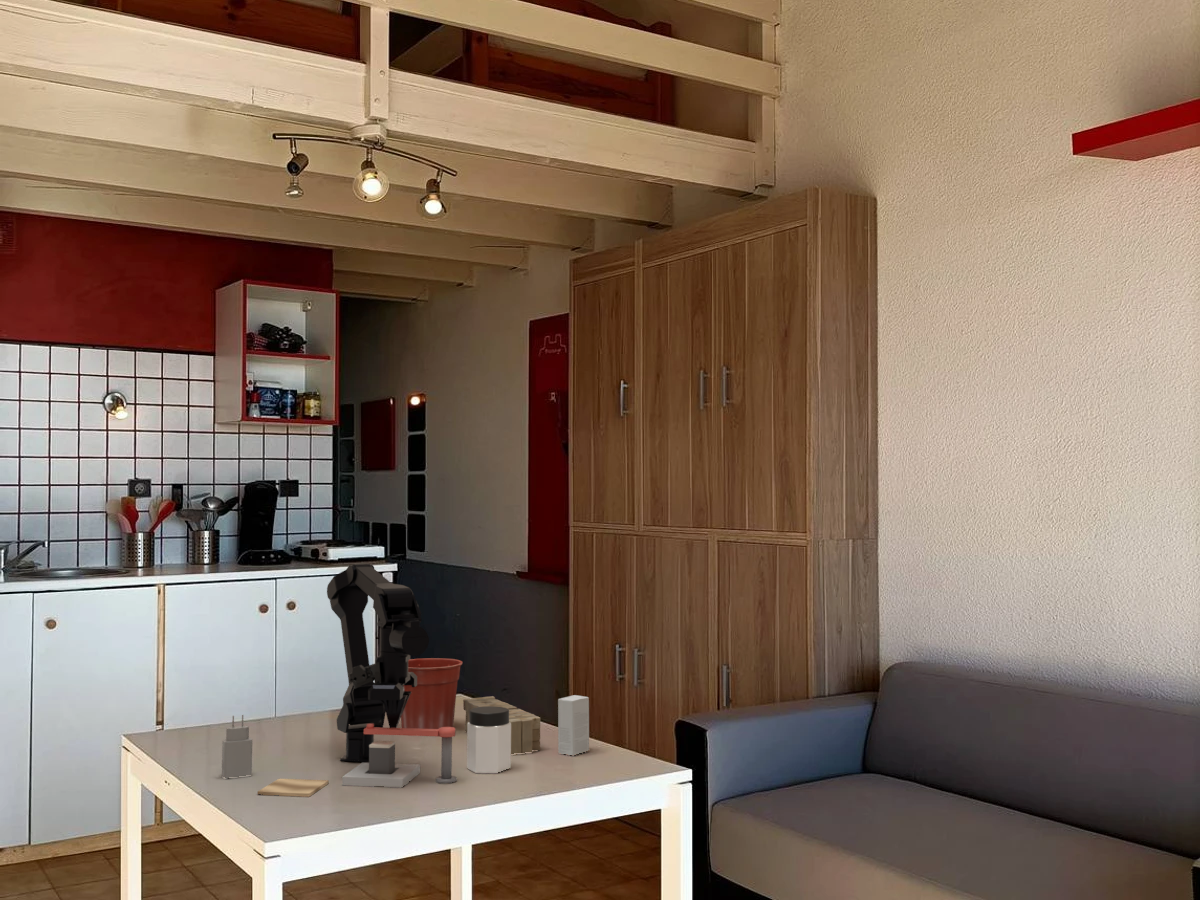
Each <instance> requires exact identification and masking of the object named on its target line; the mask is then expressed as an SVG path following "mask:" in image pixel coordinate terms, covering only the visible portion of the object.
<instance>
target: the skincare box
mask: <svg viewBox="0 0 1200 900" xmlns="http://www.w3.org/2000/svg"><path fill="white" fill-rule="evenodd" d="M589 699H590V697H588V696H583V695H577V694H574V695H569V696H565V697H561V698H558V699H557V705H558V707H557V709H558V710H557V713H558V714H557V715H558V716H557V717H558V718H557V719H558V720H557V721H558V722H557V723H558V725H557V726H558V727H557V728H558V730H557V731H558V732H557V733H558V734H557V738H558V739H557V741H558V742H557V745H558V749H557V751H558V752H557V753H558V754H559V753H561V754H568V755H575V754H579V753H582V752H585V751H588V750H589V751H590V700H589ZM585 753H586V752H585ZM582 754H583V753H582ZM579 755H580V754H579Z"/></svg>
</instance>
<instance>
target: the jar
mask: <svg viewBox="0 0 1200 900" xmlns="http://www.w3.org/2000/svg"><path fill="white" fill-rule="evenodd" d="M466 743H467V744H466V769H467V768H468V770H469V771H471V772H472V773H474V774H499V773H498V772H500V773H502V772H501V771H503V770H506V769H508V768H510V769H511V767H512V766H511V765H512V764H511V763H512V756H511V723H510V722H509V709H507V708H504V707H493V706H488V707H477V708H473V709H471V710H470V712H469V722H468V723H467V732H466ZM506 771H507V770H506ZM503 772H504V771H503Z"/></svg>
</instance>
